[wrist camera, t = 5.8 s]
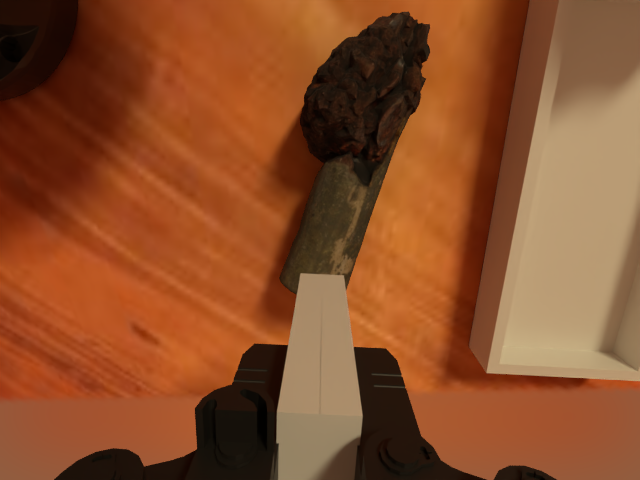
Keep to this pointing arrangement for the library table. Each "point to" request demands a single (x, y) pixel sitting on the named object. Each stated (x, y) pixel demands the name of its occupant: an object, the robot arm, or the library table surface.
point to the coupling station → (567, 201)
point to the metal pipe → (354, 139)
